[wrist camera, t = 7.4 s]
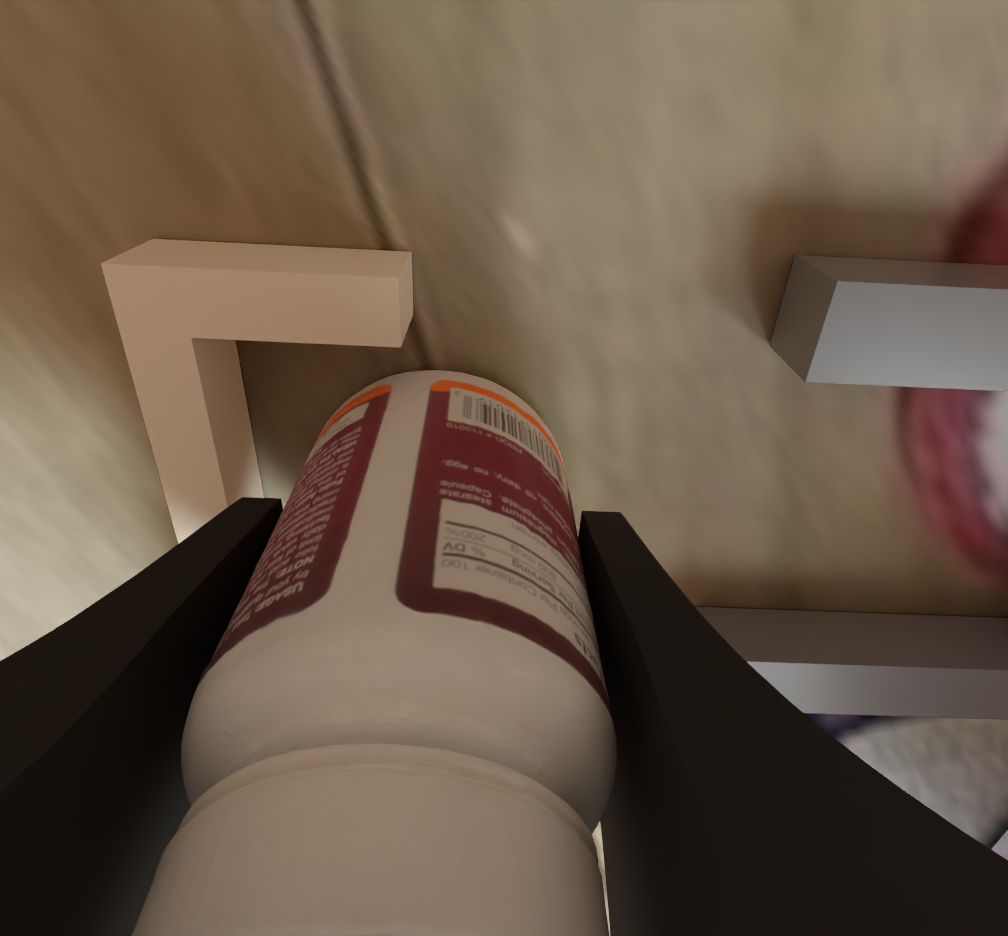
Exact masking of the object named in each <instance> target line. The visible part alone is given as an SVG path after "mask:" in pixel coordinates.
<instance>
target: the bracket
mask: <svg viewBox="0 0 1008 936" xmlns="http://www.w3.org/2000/svg"><path fill="white" fill-rule="evenodd" d="M101 267H102V270H103V274H104V278H105V281H106V285H107V288H108V292H109V296H110V299H111V303H112V306H113V310H114V314H115V317H116V321H117V324H118V328H119V332H120V335H121V339H122V342H123V346H124V350H125V353H126V357H127V360H128V364H129V368H130V371H131V375H132V378H133V382H134V386H135V389H136V393H137V397H138V400H139V404H140V407H141V411H142V415H143V418H144V422H145V425H146V429H147V433H148V436H149V440H150V443H151V447H152V451H153V454H154V458H155V461H156V465H157V469H158V472H159V476H160V479H161V483H162V487H163V490H164V494H165V497H166V501H167V505H168V508H169V512H170V515H171V519H172V523H173V526H174V530H175V533H176V537H177V541H178V544H179V543H180V542H182V541H183V540H185V539H186V538H187V537H189V536H190V535H191V534H192V533H194V532H195V531H196V530H198V529H199V528H200V527H202V526H203V525H204V524H206V523H207V522H208V521H210V520H211V519H212V518H214V517H215V516H216V515H218V514H219V513H220V512H222V511H223V510H224V509H226V508H227V507H229V506H230V505H231V504H233V503H234V502H236V501H237V500H239V499H240V498H242V497H251V498H264V496H263V490H262V485H261V479H260V474H259V468H258V463H257V457H256V451H255V446H254V440H253V435H252V429H251V424H250V418H249V413H248V407H247V401H246V396H245V390H244V385H243V379H242V374H241V368H240V362H239V357H238V351H237V346H236V340H248V341H270V342H291V343H313V344H335V345H356V346H378V347H400V348H401V346H402V343H403V341H404V338H405V335H406V333H407V330H408V327H409V325H410V322H411V319H412V317H413V281H412V252H406V251H386V250H366V249H346V248H326V247H306V246H286V245H266V244H246V243H226V242H206V241H186V240H166V239H151V240H149V241H147V242H145V243H143V244H141V245H138V246H136V247H134V248H132V249H130V250H128V251H126V252H124V253H122V254H119V255H117V256H115V257H113V258H111V259H109V260H107V261H105V262H103V263H101Z"/></svg>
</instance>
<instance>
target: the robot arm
mask: <svg viewBox="0 0 1008 936" xmlns="http://www.w3.org/2000/svg"><path fill="white" fill-rule="evenodd" d="M282 511H283V508H282V501H281V499H276V498H251V497H242V498H240V499H239V500H237V501H236V502H234V503H233V504H231V505H230V506H229V507H227V508H226V509H224V510H223V511H222V512H220V513H219V514H218V515H216V516H215V517H214V518H212V519H211V520H210V521H208V522H207V523H206V524H204V525H203V526H202V527H200V528H199V529H198V530H196V531H195V532H194V533H192V534H191V535H190V536H189V537H187V538H186V539H185V540H183V541H182V542H180V543H179V544H178V545H176V546H175V547H174V548H172V549H171V550H170V551H168V552H167V553H166V554H164V555H163V556H161V557H160V558H159V559H157V560H156V561H155V562H153V563H152V564H151V565H149V566H148V567H146V568H145V569H144V570H142V571H141V572H140V573H138V574H137V575H135V576H134V577H133V578H131V579H130V580H128V581H127V582H125V583H124V584H122V585H121V586H119V587H118V588H116V589H115V590H113V591H112V592H110V593H109V594H107V595H106V596H104V597H103V598H101V599H100V600H98V601H97V602H95V603H94V604H92V605H91V606H90V607H88V608H87V609H85V610H84V611H82V612H81V613H79V614H78V615H76V616H75V617H73V618H72V619H70V620H69V621H67V622H65V623H64V624H62V625H61V626H59V627H57V628H56V629H54V630H53V631H51V632H49V633H48V634H46V635H44V636H43V637H41V638H39V639H38V640H36V641H34V642H33V643H31V644H29V645H28V646H26V647H24V648H22V649H21V650H19V651H17V652H15V653H14V654H12V655H10V656H9V657H7V658H5V659H3V660H2V661H0V936H131V935H132V933H133V930H134V928H135V925H136V923H137V920H138V918H139V915H140V913H141V910H142V908H143V905H144V903H145V900H146V898H147V895H148V893H149V890H150V888H151V885H152V883H153V880H154V876H155V873H156V869H157V867H158V864H159V861H160V859H161V856H162V854H163V852H164V850H165V849H166V847H167V845H168V844H169V842H170V841H171V839H172V838H173V837H174V835H175V834H176V832H177V830H178V828H179V826H180V824H181V821H182V820H183V818H184V817H185V815H186V814H187V812H188V811H189V809H190V808H191V805H190V802H189V800H188V797H187V793H186V790H185V786H184V781H183V775H182V767H181V744H182V737H183V731H184V727H185V723H186V719H187V716H188V712H189V709H190V706H191V702H192V699H193V696H194V693H195V691H196V688H197V685H198V682H199V680H200V677H201V674H202V672H203V671H204V669H205V668H206V667H207V665H208V664H209V663H210V661H211V659H212V657H213V655H214V653H215V651H216V649H217V647H218V644H219V642H220V640H221V638H222V636H223V634H224V632H225V631H226V629H227V627H228V624H229V622H230V620H231V618H232V616H233V614H234V612H235V610H236V608H237V606H238V604H239V602H240V600H241V598H242V596H243V594H244V592H245V590H246V588H247V585H248V583H249V581H250V579H251V577H252V574H253V572H254V570H255V567H256V565H257V563H258V561H259V559H260V557H261V556H262V554H263V552H264V550H265V547H266V545H267V543H268V541H269V539H270V537H271V535H272V532H273V530H274V528H275V526H276V524H277V522H278V520H279V518H280V515H281V513H282ZM578 538H579V543H580V548H581V555H582V562H583V567H584V574H585V579H586V584H587V588H588V595H589V599H590V604H591V609H592V613H593V620H594V626H595V631H596V637H597V642H598V647H599V653H600V659H601V664H602V669H603V673H604V678H605V683H606V688H607V693H608V698H609V703H610V708H611V710H612V713H613V718H614V723H615V729H616V737H617V763H616V770H615V777H614V783H613V787H612V791H611V794H610V798H609V801H608V804H607V806H606V808H605V810H604V813H603V815H602V817H601V819H600V822H601V830H602V841H603V852H604V863H605V874H606V885H607V896H608V908H609V921H610V933H611V936H1008V830H1007V831H1006V832H1005V833H1004V834H1003V836H1002V837H1001V838H1000V839H999V840H998V842H997V843H996V844H995V845H994V846H993V848H992V849H989V848H988V847H986V846H984V845H983V844H981V843H980V842H978V841H976V840H975V839H973V838H972V837H970V836H969V835H967V834H966V833H964V832H963V831H961V830H960V829H958V828H957V827H956V826H954V825H953V824H951V823H950V822H948V821H947V820H945V819H944V818H942V817H941V816H940V815H938V814H937V813H935V812H934V811H932V810H931V809H929V808H928V807H927V806H925V805H924V804H922V803H921V802H919V801H918V800H916V799H915V798H914V797H912V796H911V795H909V794H908V793H906V792H905V791H903V790H902V789H901V788H899V787H898V786H897V785H895V784H894V783H893V782H891V781H890V780H888V779H887V778H886V777H884V776H883V775H882V774H880V773H879V772H878V771H876V770H875V769H873V768H872V767H871V766H869V765H868V764H867V763H865V762H864V761H863V760H861V759H860V758H859V757H858V756H856V755H855V754H854V753H853V752H851V751H850V750H849V749H848V748H846V747H845V746H844V745H842V744H841V743H840V742H839V741H837V740H836V739H835V738H834V737H832V736H831V735H830V734H829V733H827V732H826V731H825V730H823V729H822V728H821V727H820V726H818V725H817V724H816V723H815V722H814V721H812V720H811V719H810V718H809V717H808V716H806V715H805V714H804V713H803V712H802V711H800V710H799V709H798V708H797V707H796V706H795V705H793V704H792V703H791V702H790V701H789V700H788V699H787V698H786V697H784V696H783V695H782V694H781V693H780V692H779V691H778V690H777V689H776V688H775V687H773V686H772V685H771V684H770V683H769V682H768V681H767V680H766V679H765V678H764V677H762V676H761V675H760V674H759V673H758V672H757V671H756V670H755V669H754V668H753V667H752V666H751V665H750V664H749V663H747V662H746V661H745V660H744V659H743V658H742V657H741V656H740V655H739V654H738V653H737V652H736V651H735V650H734V649H733V648H732V647H731V645H730V644H729V643H728V642H727V641H726V640H725V639H724V638H723V637H722V636H721V635H720V634H719V633H718V632H717V631H716V630H715V629H714V627H713V626H712V625H711V624H710V623H709V622H708V621H707V620H706V619H705V617H704V616H703V615H702V614H701V613H700V612H699V611H698V610H697V608H696V607H695V606H694V605H693V604H692V603H691V601H690V600H689V599H688V598H687V597H686V595H685V594H684V593H683V592H682V591H681V589H680V588H679V587H678V586H677V585H676V584H675V582H674V581H673V580H672V579H671V577H670V576H669V575H668V574H667V573H666V571H665V570H664V569H663V568H662V566H661V565H660V564H659V562H658V561H657V560H656V558H655V557H654V556H653V555H652V553H651V552H650V551H649V549H648V548H647V547H646V545H645V544H644V543H643V541H642V540H641V539H640V537H639V536H638V535H637V533H636V532H635V531H634V529H633V528H632V527H631V525H630V524H629V523H628V521H627V520H626V519H625V517H624V516H623V515H622V514H621V513H620V512H597V511H582V515H581V522H580V529H579V536H578Z"/></svg>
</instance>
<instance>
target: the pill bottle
mask: <svg viewBox="0 0 1008 936" xmlns="http://www.w3.org/2000/svg"><path fill="white" fill-rule="evenodd" d="M616 763H617V737H616V729H615V723H614V718H613V713H612V710H611V708H610V703H609V698H608V693H607V688H606V683H605V678H604V673H603V669H602V664H601V659H600V653H599V647H598V642H597V637H596V631H595V626H594V620H593V613H592V609H591V604H590V599H589V595H588V588H587V584H586V579H585V574H584V567H583V562H582V555H581V548H580V543H579V538H578V536H577V530H576V525H575V518H574V512H573V508H572V502H571V497H570V493H569V489H568V484H567V479H566V472H565V468H564V464H563V459H562V456H561V453H560V450H559V447H558V445H557V443H556V441H555V439H554V437H553V435H552V433H551V431H550V430H549V428H548V427H547V426H546V424H545V423H544V422H543V421H542V419H541V418H540V417H539V415H538V414H537V413H536V412H535V411H534V410H533V409H532V408H531V407H530V406H529V405H528V404H527V403H526V402H524V401H523V400H522V399H521V398H519V397H518V396H517V395H515V394H514V393H512V392H511V391H509V390H508V389H506V388H504V387H502V386H500V385H498V384H496V383H494V382H492V381H490V380H487V379H484V378H481V377H477V376H473V375H470V374H466V373H462V372H452V371H442V370H426V371H412V372H405V373H401V374H397V375H392V376H388V377H386V378H383V379H381V380H379V381H377V382H374V383H372V384H371V385H369V386H367V387H365V388H363V389H362V390H360V391H359V392H357V393H356V394H354V395H353V396H352V397H351V398H349V399H348V400H347V401H345V402H344V403H343V404H342V405H341V406H340V407H339V408H338V409H337V410H336V412H335V413H334V414H333V415H332V416H331V417H330V419H329V420H328V421H327V423H326V425H325V426H324V428H323V430H322V431H321V433H320V435H319V437H318V439H317V441H316V443H315V445H314V447H313V449H312V451H311V453H310V454H309V456H308V458H307V461H306V463H305V465H304V467H303V469H302V471H301V474H300V476H299V478H298V480H297V482H296V484H295V486H294V488H293V491H292V493H291V495H290V497H289V499H288V501H287V503H286V505H285V507H284V509H283V511H282V513H281V515H280V518H279V520H278V522H277V524H276V526H275V528H274V530H273V532H272V535H271V537H270V539H269V541H268V543H267V545H266V547H265V550H264V552H263V554H262V556H261V557H260V559H259V561H258V563H257V565H256V567H255V570H254V572H253V574H252V577H251V579H250V581H249V583H248V585H247V588H246V590H245V592H244V594H243V596H242V598H241V600H240V602H239V604H238V606H237V608H236V610H235V612H234V614H233V616H232V618H231V620H230V622H229V624H228V627H227V629H226V631H225V632H224V634H223V636H222V638H221V640H220V642H219V644H218V647H217V649H216V651H215V653H214V655H213V657H212V659H211V661H210V663H209V664H208V665H207V667H206V668H205V669H204V671H203V672H202V674H201V677H200V680H199V682H198V685H197V688H196V691H195V693H194V696H193V699H192V702H191V706H190V709H189V712H188V716H187V719H186V723H185V727H184V731H183V737H182V744H181V767H182V775H183V781H184V786H185V790H186V793H187V797H188V800H189V802H190V805H191V808H190V809H189V811H188V812H187V814H186V815H185V817H184V818H183V820H182V821H181V824H180V826H179V828H178V830H177V832H176V834H175V835H174V837H173V838H172V839H171V841H170V842H169V844H168V845H167V847H166V849H165V850H164V852H163V854H162V856H161V859H160V861H159V864H158V867H157V869H156V873H155V876H154V880H153V883H152V885H151V888H150V890H149V893H148V895H147V898H146V900H145V903H144V905H143V908H142V910H141V913H140V915H139V918H138V920H137V923H136V925H135V928H134V930H133V933H132V935H131V936H609V930H608V923H607V915H606V907H605V899H604V890H603V881H602V876H601V873H600V869H599V866H598V857H597V851H596V847H595V844H594V841H593V838H592V835H591V834H592V833H593V831H594V830H595V828H596V827H597V825H598V823H599V821H600V819H601V817H602V815H603V813H604V810H605V808H606V806H607V804H608V801H609V798H610V794H611V791H612V787H613V783H614V777H615V770H616Z"/></svg>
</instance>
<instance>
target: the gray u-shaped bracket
mask: <svg viewBox="0 0 1008 936" xmlns="http://www.w3.org/2000/svg"><path fill="white" fill-rule="evenodd" d="M770 346H771V348H772V349H773V350H774V351H775V352H776V353H777V354H778V355H779V356H780V357H781V358H782V359H783V360H784V361H785V362H786V363H787V364H788V365H789V366H790V367H791V368H792V369H793V370H794V371H795V372H796V373H797V374H798V375H799V376H800V377H801V378H802V379H803V380H804V381H805V382H813V383H835V384H857V385H879V386H901V387H923V388H945V389H967V390H989V391H1008V265H989V264H970V263H950V262H930V261H911V260H891V259H871V258H852V257H832V256H812V255H795V257H794V261H793V264H792V268H791V271H790V275H789V278H788V282H787V286H786V289H785V293H784V296H783V300H782V303H781V307H780V310H779V314H778V318H777V321H776V325H775V328H774V332H773V335H772V339H771V343H770ZM696 608H697V610H698V611H699V612H700V613H701V614H702V615H703V616H704V617H705V619H706V620H707V621H708V622H709V623H710V624H711V625H712V626H713V627H714V629H715V630H716V631H717V632H718V633H719V634H720V635H721V636H722V637H723V638H724V639H725V640H726V641H727V642H728V643H729V644H730V645H731V647H732V648H733V649H734V650H735V651H736V652H737V653H738V654H739V655H740V656H741V657H742V658H743V659H744V660H745V661H746V662H747V663H749V664H750V665H751V666H752V667H753V668H754V669H755V670H756V671H757V672H758V673H759V674H760V675H761V676H762V677H764V678H765V679H766V680H767V681H768V682H769V683H770V684H771V685H772V686H773V687H775V688H776V689H777V690H778V691H779V692H780V693H781V694H782V695H783V696H784V697H786V698H787V699H788V700H789V701H790V702H791V703H792V704H793V705H795V706H796V707H797V708H798V709H799V710H800V711H802V712H803V713H818V714H849V715H880V716H911V717H942V718H974V719H1005V720H1008V618H993V617H965V616H938V615H910V614H883V613H855V612H827V611H800V610H772V609H745V608H717V607H696Z"/></svg>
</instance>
